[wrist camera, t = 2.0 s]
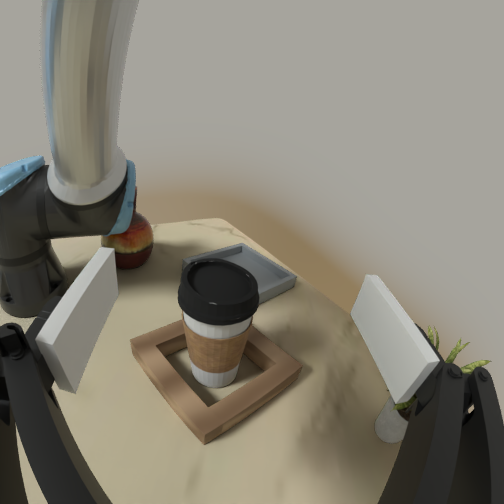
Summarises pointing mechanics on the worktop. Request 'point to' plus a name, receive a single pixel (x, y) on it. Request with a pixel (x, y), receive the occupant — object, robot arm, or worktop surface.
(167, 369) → the square wooden frame
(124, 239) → the vase
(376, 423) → the house plant
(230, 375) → the coffee cup
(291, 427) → the worktop surface
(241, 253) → the tray
